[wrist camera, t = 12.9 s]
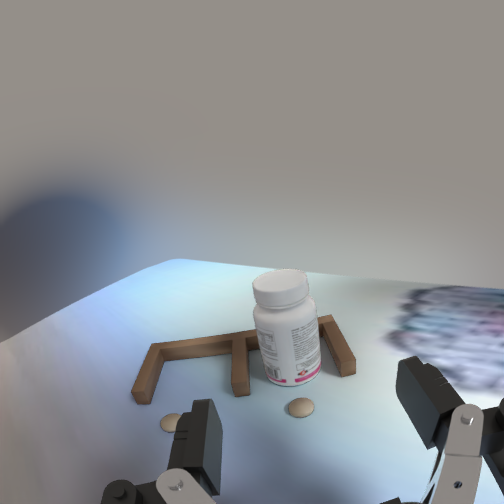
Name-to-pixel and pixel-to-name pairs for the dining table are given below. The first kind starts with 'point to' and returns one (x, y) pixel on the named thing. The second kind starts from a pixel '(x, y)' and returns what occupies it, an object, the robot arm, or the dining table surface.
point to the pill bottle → (287, 327)
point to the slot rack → (233, 363)
